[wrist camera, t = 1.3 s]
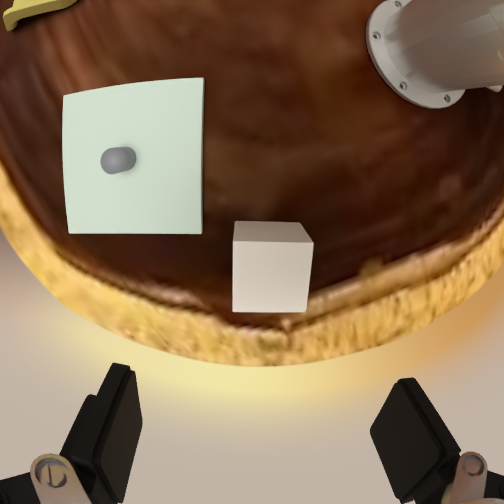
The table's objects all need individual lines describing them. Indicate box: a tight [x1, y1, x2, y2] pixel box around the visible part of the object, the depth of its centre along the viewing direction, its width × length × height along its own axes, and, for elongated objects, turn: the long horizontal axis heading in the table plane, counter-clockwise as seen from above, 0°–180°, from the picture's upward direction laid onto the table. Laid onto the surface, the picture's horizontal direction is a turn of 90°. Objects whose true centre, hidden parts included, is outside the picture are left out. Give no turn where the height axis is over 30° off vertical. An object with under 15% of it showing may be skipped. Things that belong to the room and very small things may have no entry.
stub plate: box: [62, 78, 205, 234], centre depth 24 cm, size 14×14×4 cm
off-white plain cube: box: [233, 221, 314, 312], centre depth 26 cm, size 6×6×6 cm
